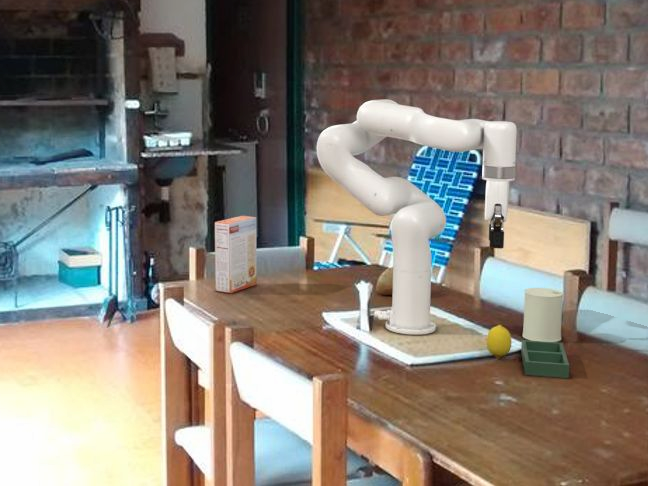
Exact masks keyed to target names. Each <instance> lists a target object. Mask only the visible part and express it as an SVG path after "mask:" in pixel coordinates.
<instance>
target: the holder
mask: <svg viewBox="0 0 648 486" xmlns="http://www.w3.org/2000/svg"><path fill="white" fill-rule="evenodd" d="M520 346H521V347H520V350H521V351H520V353H521V360H522V365H523V371H524V376H533V377H544V378H545V377H547V378H560V379H569V378H570V363H569V360H568V356H567V353H566V350H565V346H564V343H563V342H559V341H558V342H543V341H530V340H527V339H521V345H520Z"/></svg>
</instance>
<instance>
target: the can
mask: <svg viewBox="0 0 648 486" xmlns="http://www.w3.org/2000/svg"><path fill="white" fill-rule="evenodd" d="M523 292H524V304H523V306H524V307H523V329H522V338H524V340H529V341H543V342H558V343H559V342H560V341H562V317H563V316H562V314H563V298H564V292H563V291H561V290H559V289H554V288H547V287H530V288H529V287H528V288H526V289H525V290H524V291H523Z"/></svg>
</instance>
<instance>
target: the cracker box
mask: <svg viewBox="0 0 648 486" xmlns="http://www.w3.org/2000/svg"><path fill="white" fill-rule="evenodd" d="M257 260H258V259H257V217H256V216H249V215H239V216H235V217H231V218H227V219H222V220H217V221H215V222H214V273H215V274H214V276H215V277H214V278H215V279H214V280H215V281H214V282H215V287H214V289H215V292H219V293H225V294H233V293H236V292H239V291H243V290H245V289H248V288H251V287H254V286H257V284H258V283H257V278H258V277H257V274H258V273H257V271H258V270H257V268H258V267H257V266H258V262H257Z"/></svg>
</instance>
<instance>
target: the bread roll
mask: <svg viewBox="0 0 648 486" xmlns="http://www.w3.org/2000/svg"><path fill="white" fill-rule="evenodd" d="M375 285H376V288H375V289H376V292H377V293H378V294H380V295H382V296H392V294H393V266H391V267H388V268H386V269H385V270H384V271H382V273H381V274H380V275H379V278H378V279H377V282H376V284H375Z"/></svg>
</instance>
